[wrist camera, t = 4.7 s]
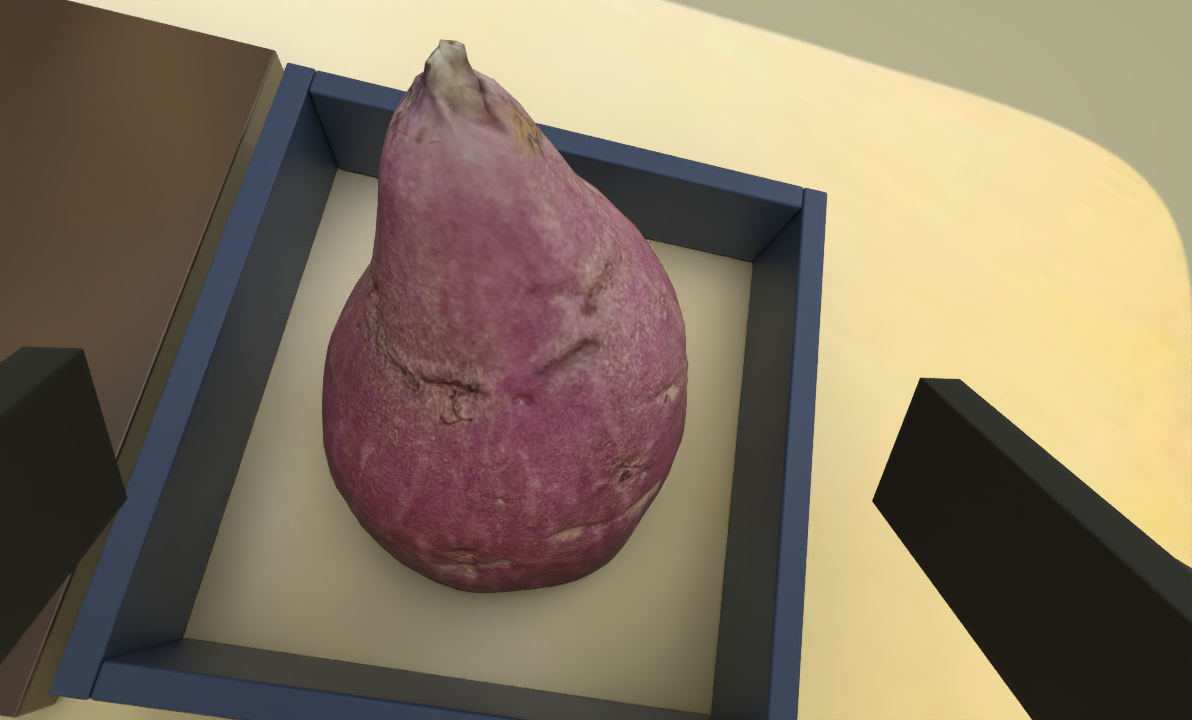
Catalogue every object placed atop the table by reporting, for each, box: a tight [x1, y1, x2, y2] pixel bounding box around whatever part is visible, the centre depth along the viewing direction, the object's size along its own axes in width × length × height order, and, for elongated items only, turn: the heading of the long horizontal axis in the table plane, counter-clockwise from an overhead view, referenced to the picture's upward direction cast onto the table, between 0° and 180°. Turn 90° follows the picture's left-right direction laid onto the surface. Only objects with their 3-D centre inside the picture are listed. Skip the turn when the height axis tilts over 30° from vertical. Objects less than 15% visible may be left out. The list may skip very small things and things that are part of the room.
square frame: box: [49, 63, 827, 720], centre depth 19 cm, size 17×17×4 cm
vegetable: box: [322, 40, 688, 593], centre depth 15 cm, size 10×10×15 cm
